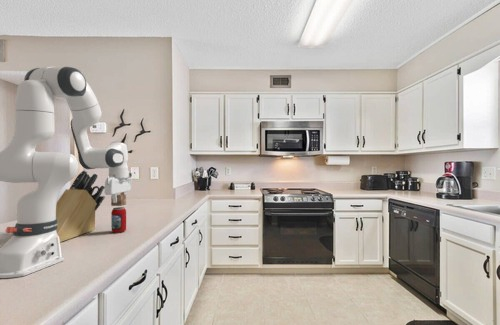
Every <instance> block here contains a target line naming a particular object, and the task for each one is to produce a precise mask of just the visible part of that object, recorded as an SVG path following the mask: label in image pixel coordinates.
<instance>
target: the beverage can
mask: <svg viewBox="0 0 500 325" xmlns="http://www.w3.org/2000/svg"><path fill="white" fill-rule="evenodd" d="M110 214H111V221H110V222H111V223H110V224H111V232H112V233H114V234H120V233H125V231H127V209H126V207H125V206H123V207H122V206H116V207H113V208H112V210H111V213H110Z"/></svg>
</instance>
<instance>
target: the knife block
mask: <svg viewBox="0 0 500 325" xmlns="http://www.w3.org/2000/svg"><path fill="white" fill-rule="evenodd" d="M97 179H98V174H96V173H93V174H92V175H91V176H90V175H89V174H88V171H87V170H86V169H85V170H82V171H81V172H79V174H77V175H76V177H75V179H74V181H73V182H72V184H71V186H70V187H69V189H65V190H64V191H63V193H62V194H61V195H60V197H59V198H58V199H57V204H56V219H57V223H58V225H57V226H58V228H57V229H56V231H57V234H58V236H59V239H60V243H62V242H64V241H67V240H70V239H73V238H76V237H78V236H81V235H83V234H87V233H89V232H93V231H94V230H95V229H96V211H97V210H98V208H99V207H100V206H101V205H102V202H103V201H104V200H105V197H106V196H104V195H102V193H103V191H104V190H105V185H101V186H100V187H99V186H97V185H95V186H93V185H94V184H95V182H96V181H97ZM92 186H93V187H92ZM95 189H97V191H96V192H95V193H94V191H95ZM93 193H94V194H93Z"/></svg>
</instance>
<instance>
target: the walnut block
mask: <svg viewBox="0 0 500 325" xmlns="http://www.w3.org/2000/svg"><path fill="white" fill-rule="evenodd" d="M110 197H111V198H110V199H111V202H110V203H111V204H110V205H111V207H115V206H116V207H122V206H125V205H127V194H125V195H121V194H117V199H118V202H117V203H113V199H112V196H111V195H110Z"/></svg>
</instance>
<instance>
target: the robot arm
mask: <svg viewBox="0 0 500 325" xmlns="http://www.w3.org/2000/svg"><path fill="white" fill-rule="evenodd" d="M56 98H64V99H65V101H66V102H67V105H68V108H69V109H70V112H71V117H72V118H71V120H70V128H71V130H70V131H71V133H72V137H73V140H74V143H75V147H76V150H77V158H78V159H77V158H76V156H75V155H74V154H72V153H68V152H61V151H36V149H37V148H36V147H37V145H39V144H40V143H43V142H45V141H48V140H50V139H51V138H52V137H54V135H55V133H56V126H55V125H56V121H55V120H56V119H55V102H54V101H55V99H56ZM14 104H15V107H14V110H15V114H14V117H15V118H14V120H15V123H14V133H13V136H12V138H11V140H10V142H9V143H8V145H7V146H6V147H5V148H4V149H2V150H1V151H0V182H5V183H12V184H14V183H15V184H17V183H18V184H19V183H20V184H21V183H22V184H24V183H37V188H36V189H35V190H34V191H33V190H32V191H31V192H28V193H26V194H25V195H23V196H21V197H20V198H19V200H18V201H17V204H16V213H17V214H16V216H17V217H16V220H17V222H16V223H15V225H14V226H7V227H6V228H5V230H4V231H5V232H6V234H12V236H11V237H10V238H9V239H8V240H7V241H6V242H5V244H3V246H2V247H0V279H8V278H9V279H10V278H17V277H24V276H27V275H29V274H33V273H35V272H38V271H40V270H43V269H45V268H47V267H50V266H53V265H56V264H58V263H61V262H63V261H64V260H65V258H64V256H62V249H61V242H60V239H59V236H58V234H57V231H56V229H57V228H58V226H57V225H58V223H57V219H56V204H57V201H58V197H59V194H60V192H61V190H62V189H63V188H64V186H66V184H67V183H69V182H70V181H72V180H73V179H74V178H76V177H77V176H78V172H79V170H80V165H81V167H82V168H83V169H85V170H95V169H108V176H107V177H106V179H105V181H104V187H105V188H104V194H105V195H108V196H110V197H111V196H112V199H113V203H117V202H118V199H117V195H127V194H126V192H130V191H131V190H132V183H133V182H132V181H133V180H132V177H133V173H132V172H131V171H129V166H128V161H129V151H128V146H127V144H126V143H124V142H121V141H112V142H110V144H109V145H107V146H105V147H100V148H98V147H93V146H91V142H90V140H89V135H88V129H89V128H91V127H93V126H94V125H96V124H97V123H98V122H100V120H101V118H102V114H103V113H102V109H101V106H100V103H99V100H98V98H97V96H96V94H95V92H94V90H93V89H92V87H91V85H90V84H89V83H88V82H87V79H86V78H85V76H84V74H83V73H82V72H81V71H80V69H77V68H75V67H71V66H64V67H63V66H62V67H61V66H45V67H35V68H32V69H30V70H29V71H27V72H26V73H25V76H24V80H23V81H21V82H19V84H18V85H17V90H16V96H15V103H14Z"/></svg>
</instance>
